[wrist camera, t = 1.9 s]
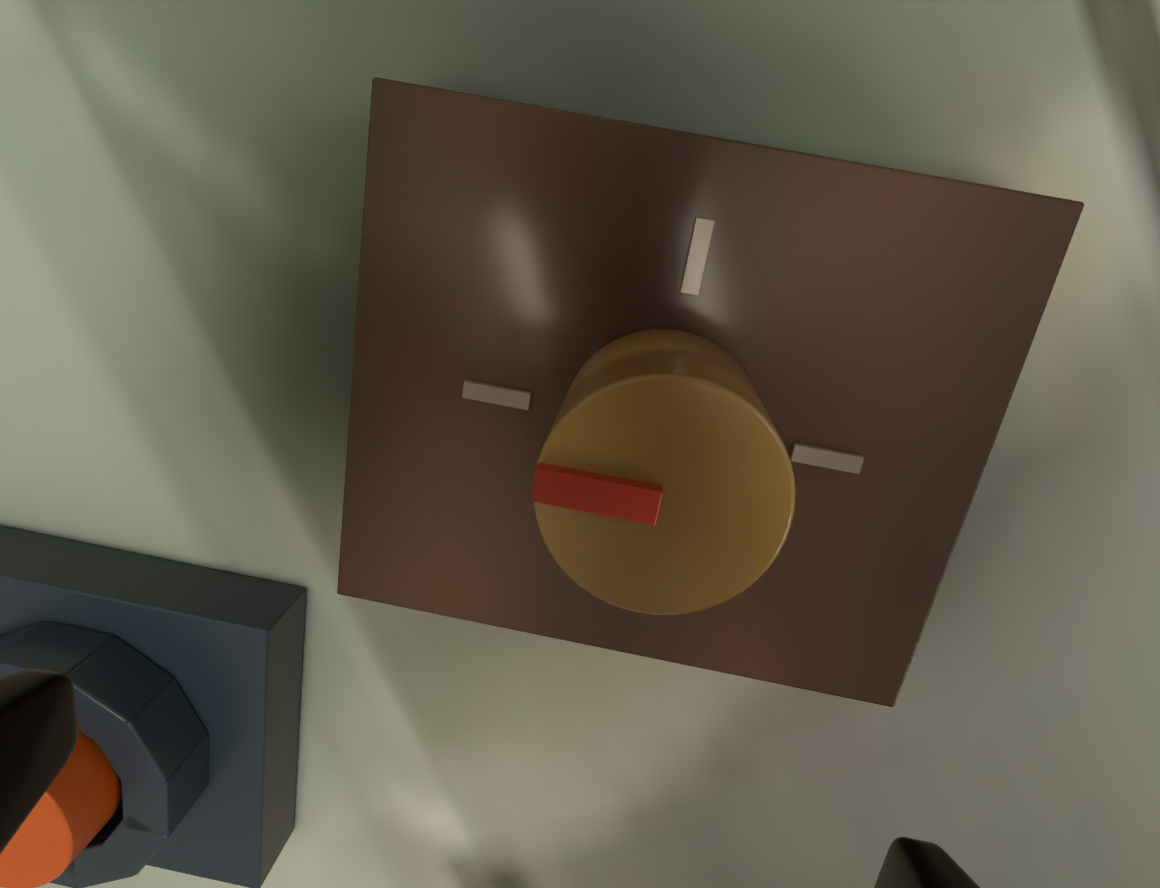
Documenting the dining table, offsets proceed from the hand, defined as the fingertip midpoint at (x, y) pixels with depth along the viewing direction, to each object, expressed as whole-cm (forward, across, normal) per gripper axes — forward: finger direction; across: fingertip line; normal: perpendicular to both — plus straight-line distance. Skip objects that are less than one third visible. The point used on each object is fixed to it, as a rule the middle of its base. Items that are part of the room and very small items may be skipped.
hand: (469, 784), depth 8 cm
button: (+8, +12, +10) cm, 17 cm away
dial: (+8, -2, -2) cm, 9 cm away
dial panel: (+11, -2, -2) cm, 12 cm away
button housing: (+11, +12, +10) cm, 19 cm away
